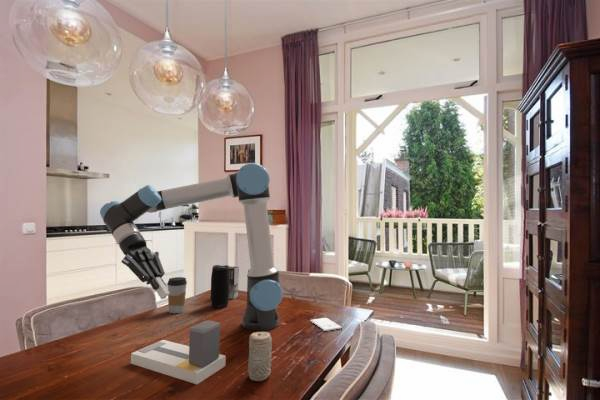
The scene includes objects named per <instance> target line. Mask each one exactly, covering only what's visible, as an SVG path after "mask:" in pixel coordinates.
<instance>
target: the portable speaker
mask: <svg viewBox="0 0 600 400" xmlns="http://www.w3.org/2000/svg"><path fill="white" fill-rule="evenodd" d="M229 284H230V276H229V265H228V264H226V265H220V264H215V265H212V269H211V275H210V304H211V306H210V307H211V308H215V307H218V308H219V309H224V308H227V307H228V305H229Z"/></svg>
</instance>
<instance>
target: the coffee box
mask: <svg viewBox="0 0 600 400" xmlns="http://www.w3.org/2000/svg"><path fill="white" fill-rule="evenodd" d="M228 266H229V265H228ZM239 268H240V267H239V266H229V276H230V284H229V299H231V300H232V299H233V300H235V299H236V298H237V297H239Z"/></svg>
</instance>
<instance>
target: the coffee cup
mask: <svg viewBox="0 0 600 400" xmlns="http://www.w3.org/2000/svg"><path fill="white" fill-rule="evenodd" d="M187 284H188V281H187V278H186V277H183V276H177V277H170V278H169V279H168V281H167V289H168V291H169V292H170V293H169V294H168V296H167V298H168V299H167V303H168V312H169V314H171V313H174V314H173V315H175V313H178V314H181V312H182V313H183V312H184V311H185V302H186V291H187Z"/></svg>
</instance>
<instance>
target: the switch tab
mask: <svg viewBox="0 0 600 400" xmlns="http://www.w3.org/2000/svg"><path fill="white" fill-rule="evenodd" d="M220 333H221V322H218V321H215V320H208V319H206V320H204V321H201V322H199V323H196V324H194V325H192V326H190V327H189V341H188V343H189V345H188V346H189V364H193V365H196V366H200V367H204V366H205V365H207V364H209V363H210V362H212V361H214V360H215V359H217V358H219V354H220V342H221V341H220V336H221V334H220Z"/></svg>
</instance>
